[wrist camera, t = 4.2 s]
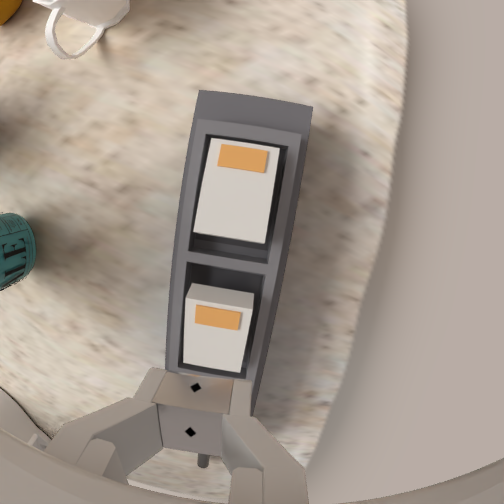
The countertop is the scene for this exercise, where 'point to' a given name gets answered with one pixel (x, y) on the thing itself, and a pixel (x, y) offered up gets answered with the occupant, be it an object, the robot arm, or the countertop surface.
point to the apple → (8, 9)
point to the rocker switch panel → (231, 250)
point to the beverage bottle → (15, 249)
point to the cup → (83, 19)
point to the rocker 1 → (237, 190)
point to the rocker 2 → (216, 327)
